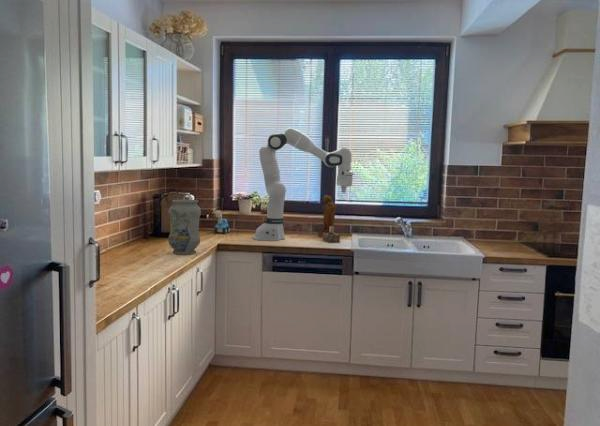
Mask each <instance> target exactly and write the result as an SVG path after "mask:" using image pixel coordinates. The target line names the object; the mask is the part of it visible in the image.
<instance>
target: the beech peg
mask: <svg viewBox="0 0 600 426" xmlns="http://www.w3.org/2000/svg"><path fill="white" fill-rule="evenodd" d="M334 230H335V226H334V225H333V226H330V227H329V234H334V233H335V231H334Z"/></svg>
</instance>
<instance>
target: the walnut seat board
mask: <svg viewBox="0 0 600 426" xmlns="http://www.w3.org/2000/svg"><path fill="white" fill-rule="evenodd" d="M321 238H322V241H323V240H324V242H326V243H327V242H329V243H340V242H341V234H339V233H336V232H334V234H329V233H323V237H321Z"/></svg>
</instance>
